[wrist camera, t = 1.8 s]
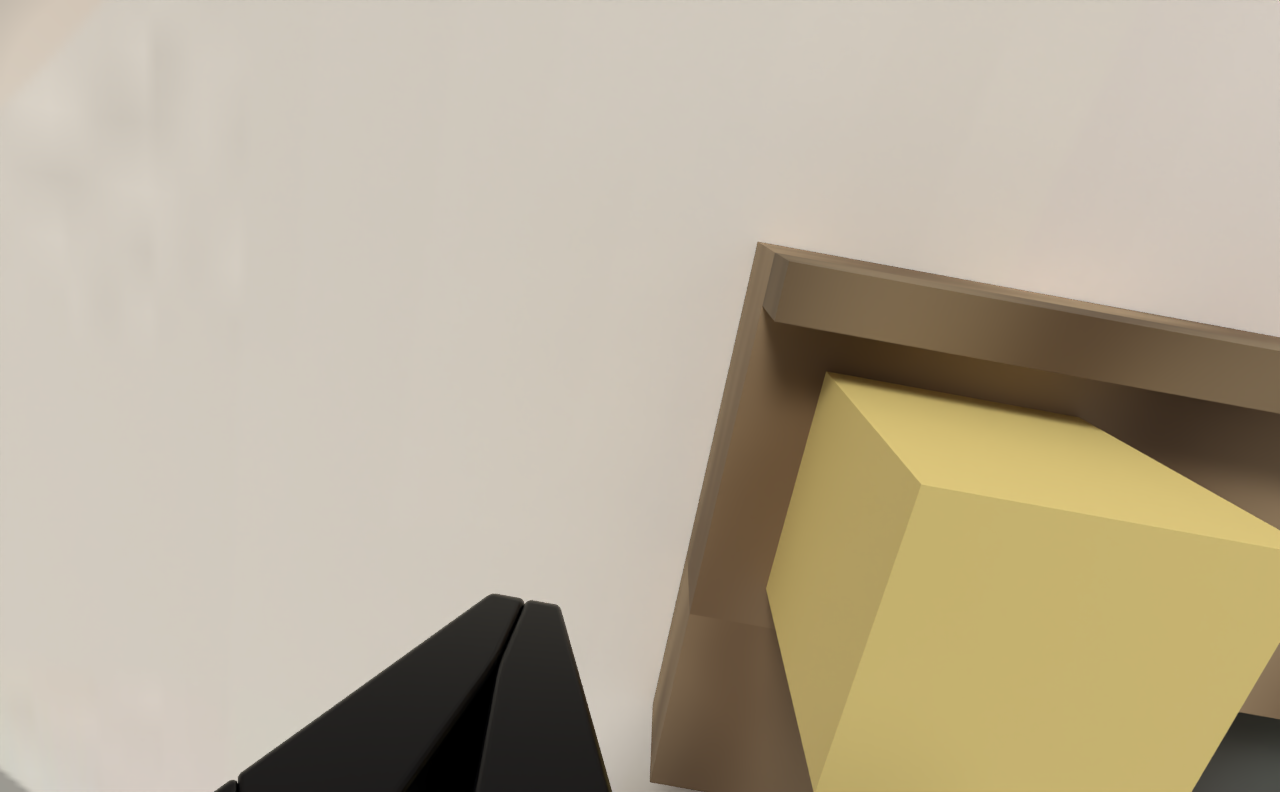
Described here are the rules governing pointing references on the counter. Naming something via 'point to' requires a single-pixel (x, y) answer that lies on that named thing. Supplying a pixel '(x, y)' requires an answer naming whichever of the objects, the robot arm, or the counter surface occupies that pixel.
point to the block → (1009, 601)
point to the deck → (955, 364)
